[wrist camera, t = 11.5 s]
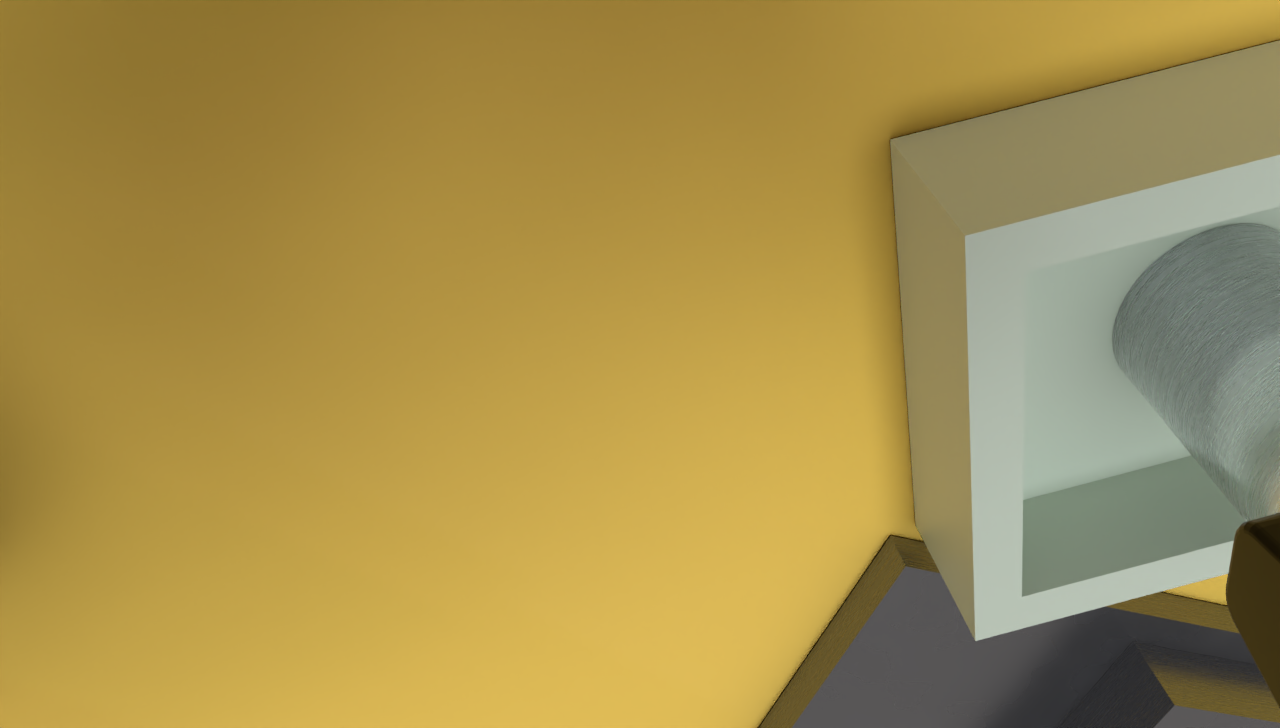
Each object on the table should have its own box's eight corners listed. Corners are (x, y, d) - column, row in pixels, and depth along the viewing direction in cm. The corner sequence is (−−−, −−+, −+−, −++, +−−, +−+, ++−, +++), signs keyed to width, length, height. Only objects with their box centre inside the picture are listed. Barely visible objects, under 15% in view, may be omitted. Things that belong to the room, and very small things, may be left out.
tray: (915, 524, 28) (975, 641, 25) (890, 139, 22) (964, 235, 19) (1411, 394, 28) (1524, 494, 25) (1520, -22, 22) (1685, 50, 19)
